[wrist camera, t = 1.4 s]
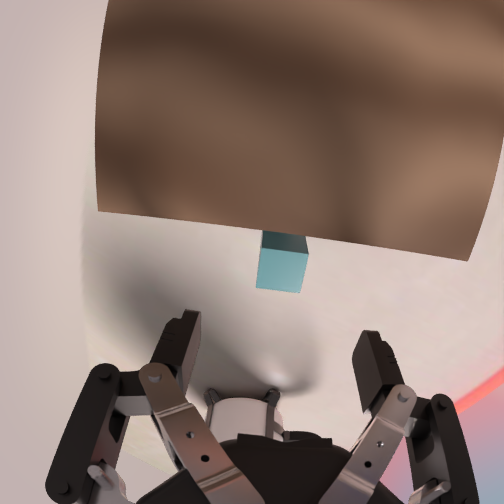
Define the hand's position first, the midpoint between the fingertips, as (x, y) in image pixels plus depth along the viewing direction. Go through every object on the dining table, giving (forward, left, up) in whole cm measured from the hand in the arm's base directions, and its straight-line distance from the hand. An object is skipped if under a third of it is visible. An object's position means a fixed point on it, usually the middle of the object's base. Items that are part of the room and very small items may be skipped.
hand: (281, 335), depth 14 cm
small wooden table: (-13, 0, -16) cm, 21 cm away
